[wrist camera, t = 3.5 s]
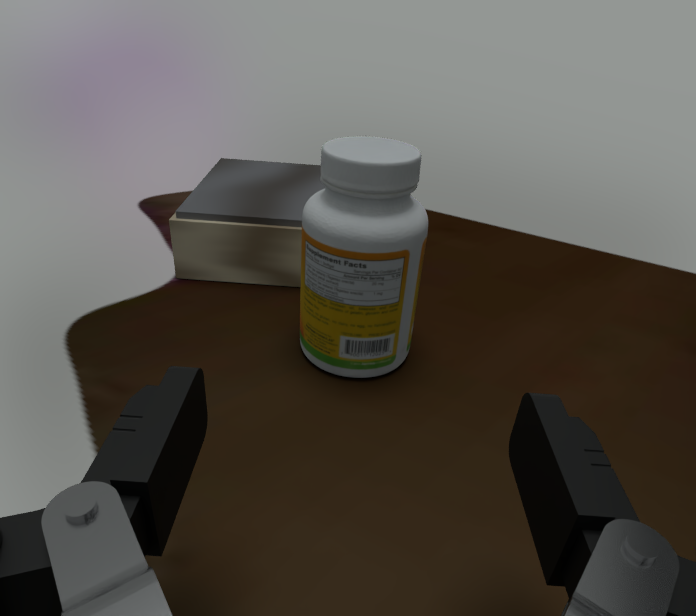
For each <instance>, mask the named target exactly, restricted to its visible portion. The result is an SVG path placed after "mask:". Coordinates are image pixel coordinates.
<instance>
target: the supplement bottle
mask: <svg viewBox="0 0 696 616" xmlns="http://www.w3.org/2000/svg"><path fill="white" fill-rule="evenodd" d="M321 154H322V155H321V177H320V180H321V182H322V183H323V184H324V185H325V186H326V188H325V189H322V190H320V191H318V192H317V193H315V194H314V195H312V196H311V197H310V198H309V200H308V201H307V202H306V204H305V206H304V209H303V214H302V245H301V293H300V344H301V347H302V350H303V352H304V354H305V355H306V357H307V358H308V359H309V360H310V361H311V362H312V363H313V364H315V365H316V366H318V367H319V368H321V369H323V370H325V371H327V372H330V373H333V374H336V375H340V376H345V377H353V378H368V377H375V376H380V375H383V374H386V373H388V372H391V371H392V370H394V369H396V368H397V367H398V366H399V365H401V364H402V362H403V361H404V360H405V358H406V357H407V354H408V352H409V348H410V343H411V337H412V330H413V323H414V316H415V310H416V303H417V297H418V290H419V283H420V277H421V271H422V264H423V258H424V252H425V246H426V239H427V230H428V216H427V213H426V210H425V208H424V207H423V205H422V204H421V203H420V202H419V201H418V200H417V199H415V198H414V197H412V196H411V195H410V193H412V192H413V191H414V190H415V189H416V188H417V183H418V182H419V174H420V164H421V152H420V150H419V149H418V148H416V147H415V146H412V145H410V144H408V143H405V142H402V141H398V140H393V139H387V138H381V137H369V136H353V137H342V138H336V139H332V140H330V141H327V142H326V143H324V144H323V146H322V153H321Z"/></svg>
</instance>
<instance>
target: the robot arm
mask: <svg viewBox="0 0 696 616" xmlns="http://www.w3.org/2000/svg"><path fill="white" fill-rule="evenodd" d="M206 429H207V405H206V394H205V384H204V375H203V371H202V369H201V368H190V367H176V366H171V367H169V369H168V370H167V372H166V374H165V376H164V378H163V380H162V381H161V383H160V385H159V386H151V385H146V386H145V387H144V388H142V389H141V390H140V391H139V392H137V393H136V394H135V395H134V396H132V397H131V398H130V399H129V401H128V403H127V404H126V406H125V408H124V410H123V411H122V413H121V415H120V418H118V420H117V422H116V423H115V425H114V427H113V431H111V432H110V434H109V435H108V437H107V439H106V440H105V442H104V444H103V446H102V447H101V449H100V451H99V452H98V454H97V456H96V458H95V459H94V461H93V463H92V464H91V466H90V468H89V470H88V471H87V473H86V475H85V477H84V478H83V480H82V481H81V483H79V484H77V485H74V486H71V487H69V488H67V489H65V490H64V491H62V492H61V493H59V494H58V495H57V496H55V497H54V498H53V499H52V500H51V501H50V503H49V504H48V505H47V507H46V508H44V509H41V510H37V511H33V512H28V513H23V514H17V515H12V516H7V517H2V518H0V616H172V614H171V611H170V609H169V606H168V604H167V602H166V599H165V597H164V594H163V592H162V590H161V587H160V585H159V582H158V580H157V578H156V575H155V573H154V571H153V569H152V568H151V567H148V565H147V563H146V560H145V555H150V556H162V553H163V551H164V548H165V545H166V543H167V540H168V537H169V534H170V532H171V529H172V526H173V523H174V521H175V518H176V515H177V512H178V510H179V507H180V504H181V501H182V499H183V496H184V493H185V490H186V488H187V485H188V482H189V480H190V477H191V474H192V471H193V469H194V466H195V463H196V460H197V458H198V455H199V452H200V449H201V447H202V444H203V441H204V438H205V434H206ZM509 458H510V463H511V466H512V470H513V473H514V476H515V480H516V483H517V486H518V490H519V493H520V497H521V500H522V503H523V507H524V510H525V513H526V517H527V520H528V523H529V527H530V530H531V533H532V537H533V540H534V544H535V547H536V550H537V554H538V557H539V560H540V564H541V567H542V570H543V574H544V577H545V580H546V584H547V585H551V586H565V587H566V591H567V594H568V597H569V600H568V602H567V604H566V606H565V608H564V610H563V612H562V615H561V616H696V562H693V561H690V560H687V559H685V558H682V557H680V556H678V555H676V553H675V551H674V549H673V548H672V546H671V545H670V544H669V543H668V541H667V540H666V539H665V538H664V537H663V536H662V535H660V534H659V533H658V532H656V531H655V530H654V529H652V528H650V527H649V526H647V525H645V524H643V523H640V521H639V519H638V517H637V515H636V513H635V511H634V509H633V507H632V505H631V503H630V501H629V499H628V497H627V495H626V493H625V491H624V489H623V488H622V486H621V484H620V482H619V480H618V478H617V476H616V474H615V472H614V470H613V469H611V464H610V462H609V460H608V458H607V456H606V454H604V450H603V448H602V446H601V444H600V442H599V440H598V438H597V436H596V434H595V433H594V432H593V431H592V430H591V429H590V428H589V427H588V426H587V425H586V424H585V423H584V422H583V421H582V420H581V419H580V418H579V417H569V416H568V414H567V412H566V410H565V408H564V406H563V403H562V401H561V399H560V398H559V396H557V395H551V394H537V393H525V394H524V396H523V398H522V400H521V404H520V407H519V410H518V413H517V417H516V420H515V423H514V426H513V430H512V433H511V436H510V441H509Z"/></svg>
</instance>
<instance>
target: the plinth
mask: <svg viewBox="0 0 696 616" xmlns="http://www.w3.org/2000/svg"><path fill="white" fill-rule="evenodd" d="M320 177H321V166H320V165H305V164H292V163H279V162H265V161H250V160H237V159H224V158H221V159H220V160H219V162H218V163H217V164H216V165H215V166H214V167H213V168H212V170H211V171H210V172H209V173H208V174H207V175H206V177H205V178H204V179H203V180H202V181H201V182H200V184H199V185H198V186H197V187H196V188H195V189H194V191H193V192H192V193H191V194H190V195H189V196H188V198H187V199H186V200H185V201H184V202H183V203H182V205H181V206H180V207H179V208H178V209H177V210H176V213H175V214H174V215H173V216H172V217H171V218H170V220H169V223H170V231H171V239H172V248H173V256H174V264H175V273H176V278H181V279H195V280H209V281H223V282H237V283H250V284H264V285H278V286H292V287H301V245H302V214H303V209H304V206H305V204H306V202H307V201H308V200H309V198H310V197H311V196H312V195H314V194H315V193H317V192H318V191H320V190H322V189H325V188H326V186H325V185H324V184H323V183H322V182H321V180H320Z"/></svg>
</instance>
